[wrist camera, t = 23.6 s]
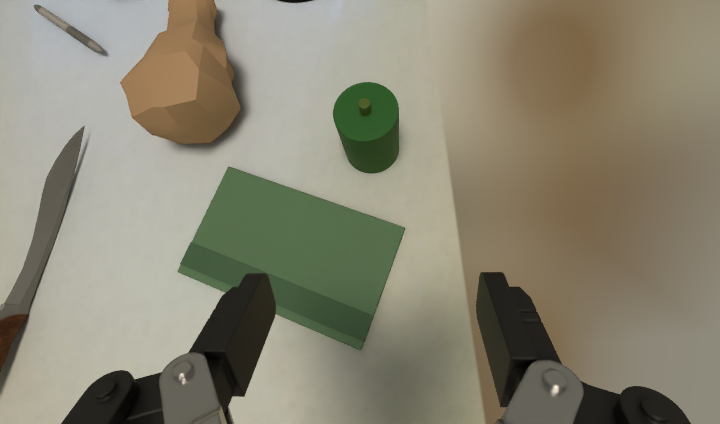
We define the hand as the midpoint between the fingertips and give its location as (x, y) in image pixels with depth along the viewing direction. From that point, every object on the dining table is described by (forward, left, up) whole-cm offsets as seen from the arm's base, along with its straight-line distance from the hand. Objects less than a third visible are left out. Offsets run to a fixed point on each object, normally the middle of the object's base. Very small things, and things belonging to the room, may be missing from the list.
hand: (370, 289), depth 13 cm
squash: (+29, -16, -20) cm, 39 cm away
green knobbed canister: (+7, -14, -20) cm, 25 cm away
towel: (+11, -1, -20) cm, 23 cm away
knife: (+36, +9, -20) cm, 42 cm away
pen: (+50, -17, -20) cm, 56 cm away
